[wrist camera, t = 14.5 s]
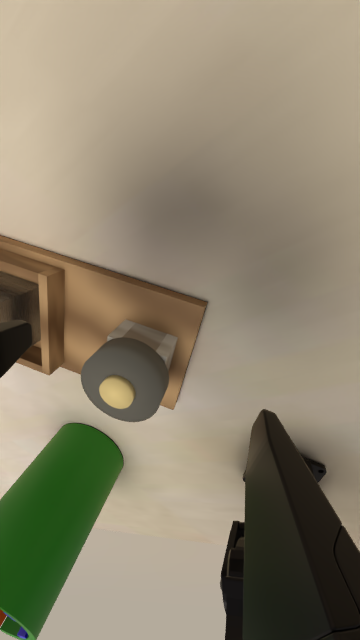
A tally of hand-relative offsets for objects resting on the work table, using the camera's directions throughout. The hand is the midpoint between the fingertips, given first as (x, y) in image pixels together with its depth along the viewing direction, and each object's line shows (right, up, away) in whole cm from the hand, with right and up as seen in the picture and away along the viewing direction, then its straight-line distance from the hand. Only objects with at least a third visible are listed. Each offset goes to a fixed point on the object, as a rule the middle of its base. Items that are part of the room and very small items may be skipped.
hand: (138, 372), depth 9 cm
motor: (-10, -16, +26) cm, 32 cm away
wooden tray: (-8, +2, +16) cm, 19 cm away
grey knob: (-2, -1, +14) cm, 14 cm away
